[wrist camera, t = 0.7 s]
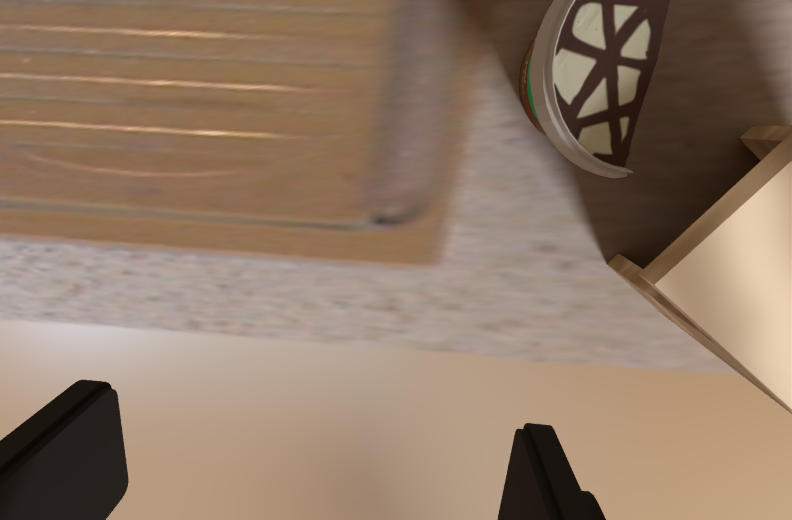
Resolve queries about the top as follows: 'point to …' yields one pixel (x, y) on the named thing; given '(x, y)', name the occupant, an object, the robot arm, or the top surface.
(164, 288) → the top surface
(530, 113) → the food container
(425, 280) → the top surface
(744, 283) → the wooden stand
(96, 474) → the robot arm
